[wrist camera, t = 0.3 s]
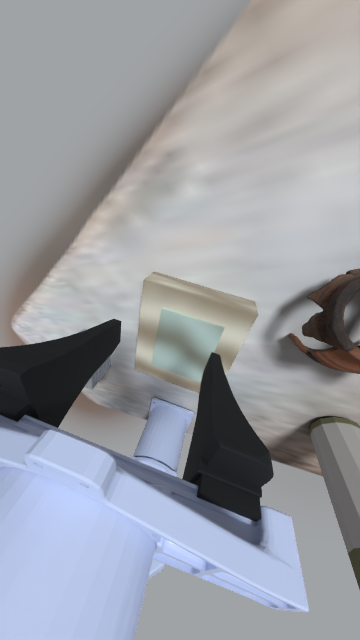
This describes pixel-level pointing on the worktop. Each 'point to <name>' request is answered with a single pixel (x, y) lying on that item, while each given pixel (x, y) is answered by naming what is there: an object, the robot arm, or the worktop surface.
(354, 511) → the bottle
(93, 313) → the worktop surface
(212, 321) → the stand
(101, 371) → the block
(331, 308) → the broken clay pot shard
